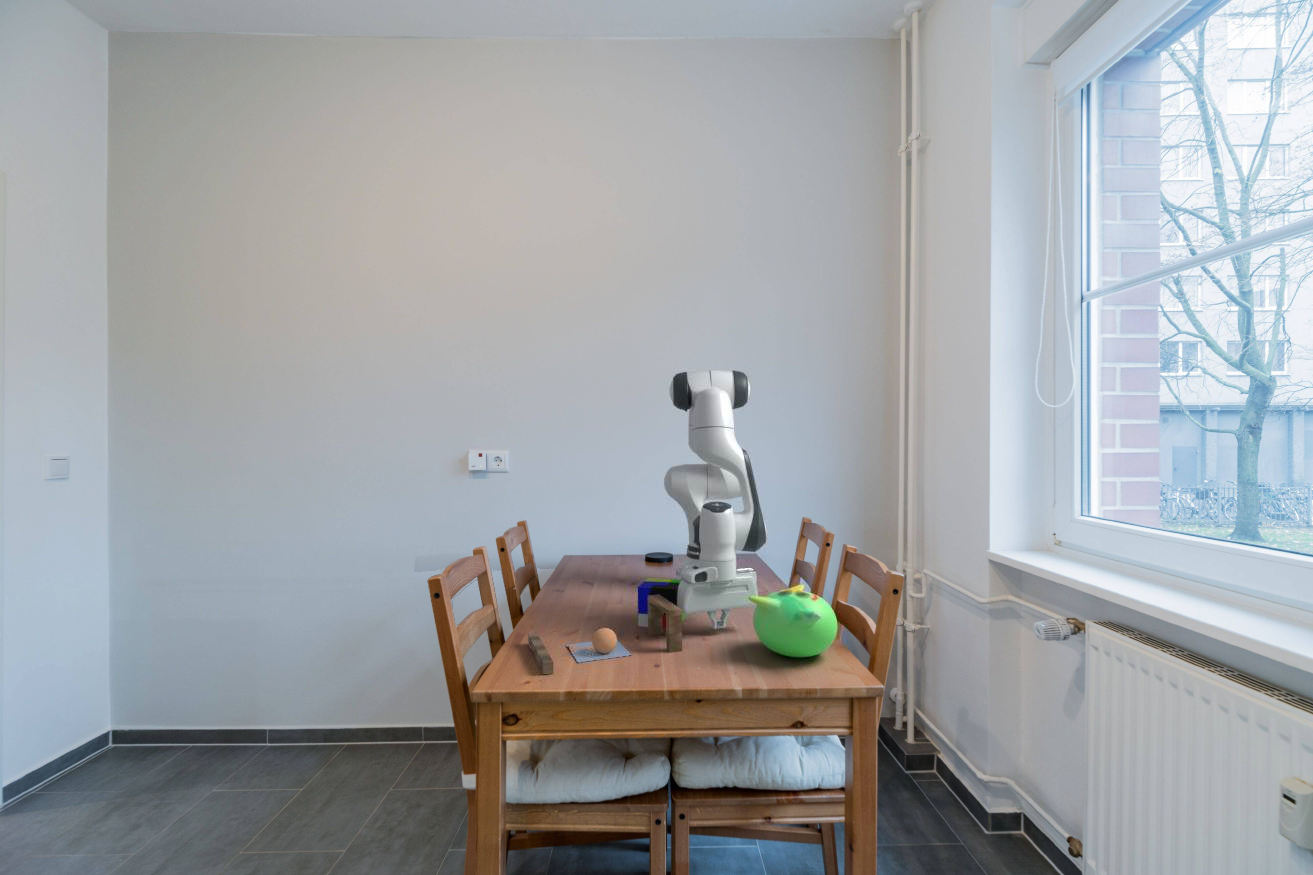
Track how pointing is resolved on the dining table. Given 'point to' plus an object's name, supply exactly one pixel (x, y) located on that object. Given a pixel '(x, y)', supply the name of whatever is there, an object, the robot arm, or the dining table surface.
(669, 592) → the puzzle toy
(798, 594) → the round green monster toy
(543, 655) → the stopper
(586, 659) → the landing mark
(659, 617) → the bridge
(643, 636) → the dining table surface
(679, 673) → the dining table surface
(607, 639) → the ball
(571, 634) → the dining table surface
